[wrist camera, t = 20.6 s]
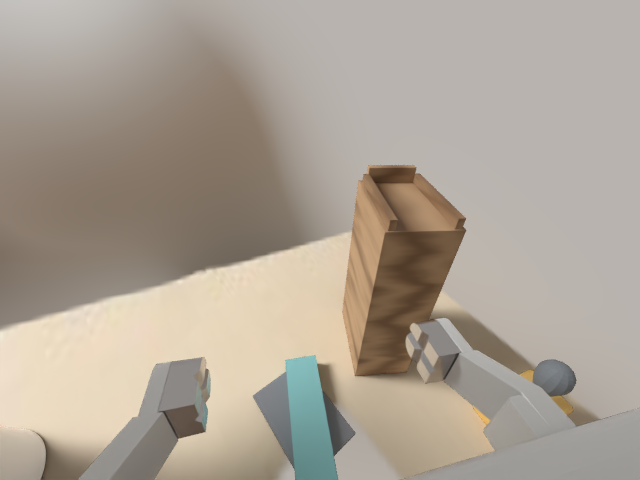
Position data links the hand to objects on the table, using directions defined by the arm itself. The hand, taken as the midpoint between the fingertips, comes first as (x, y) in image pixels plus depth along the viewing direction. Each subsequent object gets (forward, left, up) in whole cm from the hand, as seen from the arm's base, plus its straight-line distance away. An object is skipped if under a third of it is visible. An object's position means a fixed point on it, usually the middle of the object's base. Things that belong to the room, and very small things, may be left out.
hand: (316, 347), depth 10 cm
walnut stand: (+21, +10, -30) cm, 38 cm away
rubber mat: (+5, +8, -30) cm, 31 cm away
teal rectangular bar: (+4, +5, -30) cm, 30 cm away
